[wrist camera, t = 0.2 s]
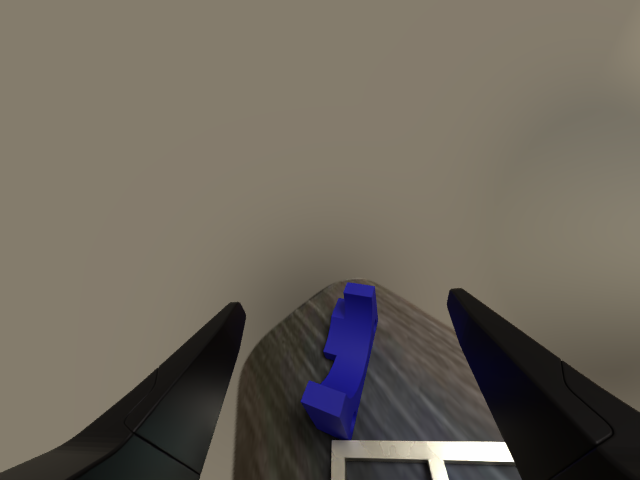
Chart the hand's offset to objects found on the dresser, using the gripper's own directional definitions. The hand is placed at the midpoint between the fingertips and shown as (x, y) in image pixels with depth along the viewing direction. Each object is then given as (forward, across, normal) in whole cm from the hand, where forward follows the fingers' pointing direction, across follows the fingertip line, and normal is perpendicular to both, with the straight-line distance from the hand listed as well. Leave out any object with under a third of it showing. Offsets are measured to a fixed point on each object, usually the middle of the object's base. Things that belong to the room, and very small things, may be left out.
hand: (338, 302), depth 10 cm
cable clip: (+6, +1, +17) cm, 18 cm away
